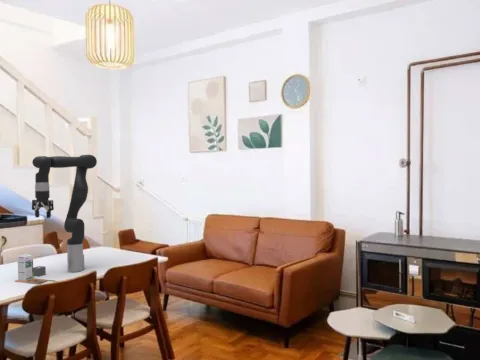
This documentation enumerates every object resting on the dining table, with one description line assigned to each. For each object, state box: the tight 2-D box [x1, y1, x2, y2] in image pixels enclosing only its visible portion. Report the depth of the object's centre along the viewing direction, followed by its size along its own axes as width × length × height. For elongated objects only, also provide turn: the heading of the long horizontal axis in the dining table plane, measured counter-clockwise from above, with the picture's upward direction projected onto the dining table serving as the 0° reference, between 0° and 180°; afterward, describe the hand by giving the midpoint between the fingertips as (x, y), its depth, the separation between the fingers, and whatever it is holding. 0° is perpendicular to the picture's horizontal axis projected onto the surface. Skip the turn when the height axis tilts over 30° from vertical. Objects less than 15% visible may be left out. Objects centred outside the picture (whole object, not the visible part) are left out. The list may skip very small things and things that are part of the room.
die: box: [33, 265, 47, 278], centre depth 239 cm, size 5×5×5 cm
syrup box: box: [16, 253, 35, 281], centre depth 228 cm, size 6×6×14 cm
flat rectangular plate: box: [14, 277, 55, 285], centre depth 225 cm, size 8×25×1 cm, turn 70°
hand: (42, 217), depth 232 cm, fingers open, 8 cm apart
